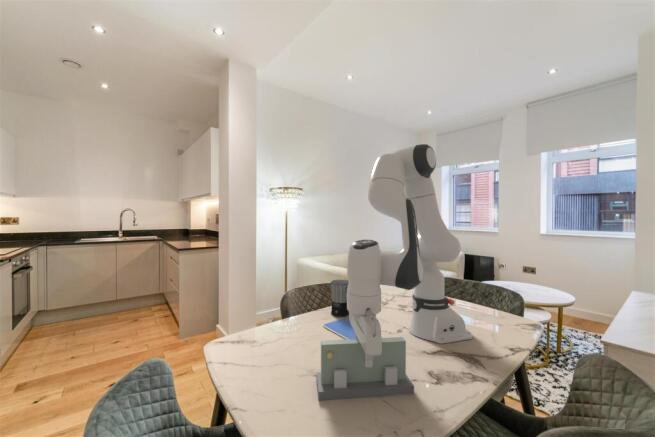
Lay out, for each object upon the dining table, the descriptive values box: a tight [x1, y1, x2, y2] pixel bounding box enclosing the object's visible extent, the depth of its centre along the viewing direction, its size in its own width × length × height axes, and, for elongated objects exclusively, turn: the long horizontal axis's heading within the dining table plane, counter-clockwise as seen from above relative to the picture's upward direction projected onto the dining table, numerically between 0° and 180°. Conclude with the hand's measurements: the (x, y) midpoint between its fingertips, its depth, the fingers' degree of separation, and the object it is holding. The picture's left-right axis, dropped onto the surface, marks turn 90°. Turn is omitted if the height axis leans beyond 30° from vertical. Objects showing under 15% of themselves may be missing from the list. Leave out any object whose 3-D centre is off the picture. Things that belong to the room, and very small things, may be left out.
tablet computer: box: [322, 317, 356, 340], centre depth 105 cm, size 19×13×1 cm, turn 37°
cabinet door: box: [320, 336, 407, 384], centre depth 69 cm, size 22×4×10 cm, turn 96°
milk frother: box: [330, 279, 349, 318], centre depth 126 cm, size 14×16×15 cm
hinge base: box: [315, 367, 415, 401], centre depth 70 cm, size 24×8×6 cm, turn 96°
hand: (363, 355), depth 70 cm, fingers open, 8 cm apart
